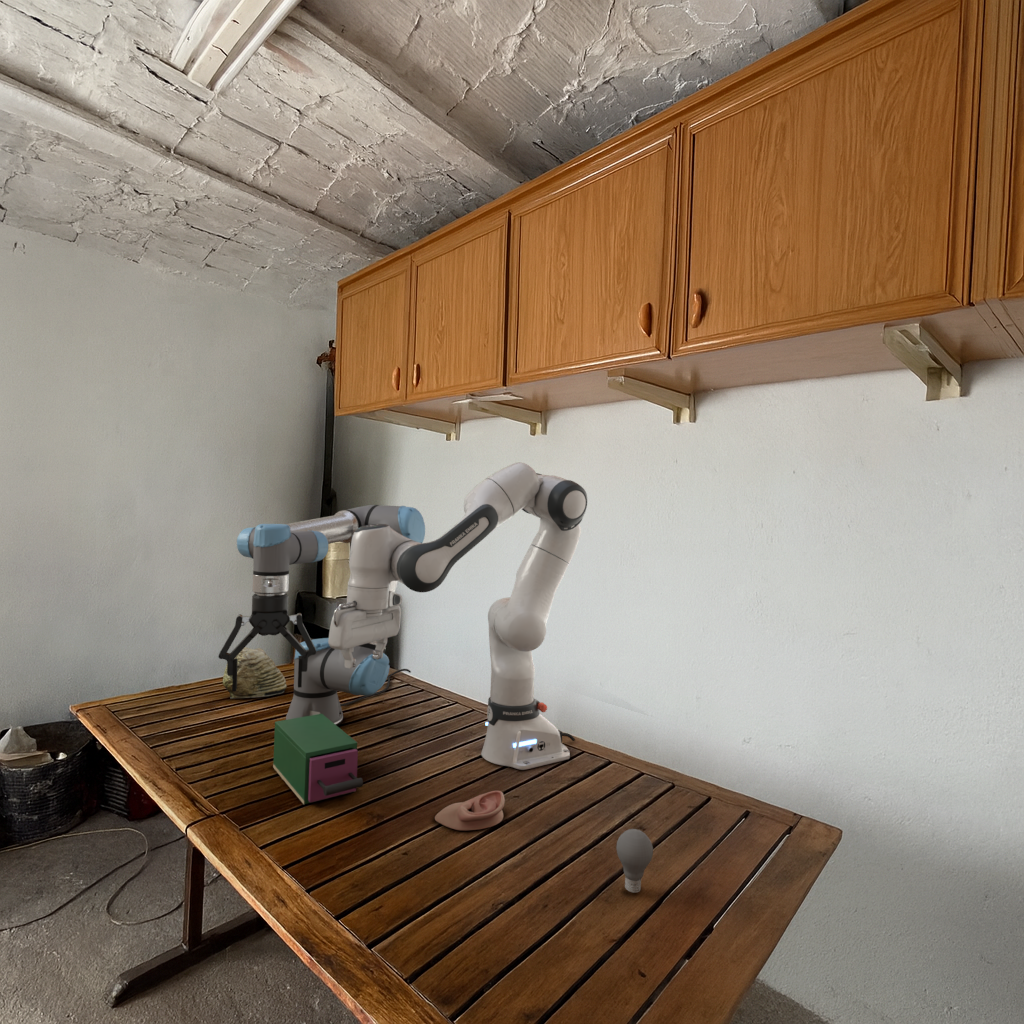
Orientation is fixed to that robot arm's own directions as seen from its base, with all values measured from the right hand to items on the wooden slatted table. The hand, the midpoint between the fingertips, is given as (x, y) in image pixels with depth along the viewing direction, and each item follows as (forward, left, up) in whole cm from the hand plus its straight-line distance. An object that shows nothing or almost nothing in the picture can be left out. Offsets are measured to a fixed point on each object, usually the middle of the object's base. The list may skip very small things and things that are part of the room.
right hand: (364, 662), depth 137 cm
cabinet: (+9, -9, -28) cm, 31 cm away
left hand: (+19, -13, -8) cm, 24 cm away
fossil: (+21, -74, -28) cm, 82 cm away
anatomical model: (-19, +18, -28) cm, 38 cm away
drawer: (+7, -4, -27) cm, 28 cm away
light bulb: (-38, +49, -28) cm, 68 cm away
